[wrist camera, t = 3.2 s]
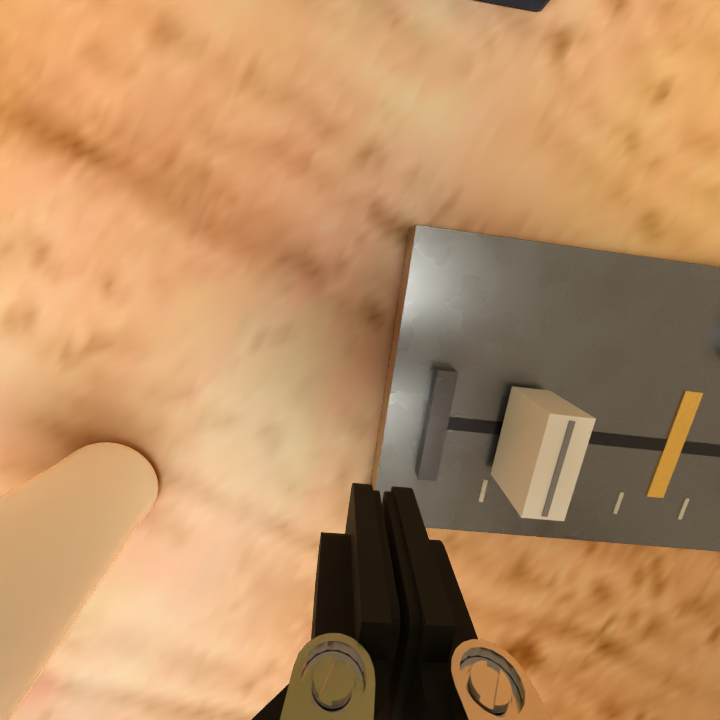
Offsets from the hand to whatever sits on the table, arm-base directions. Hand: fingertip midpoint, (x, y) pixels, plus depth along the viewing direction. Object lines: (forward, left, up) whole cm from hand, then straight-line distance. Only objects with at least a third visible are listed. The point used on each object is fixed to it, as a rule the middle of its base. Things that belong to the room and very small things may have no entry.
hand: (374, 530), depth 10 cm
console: (-13, -1, -11) cm, 17 cm away
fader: (-8, 0, -8) cm, 12 cm away
